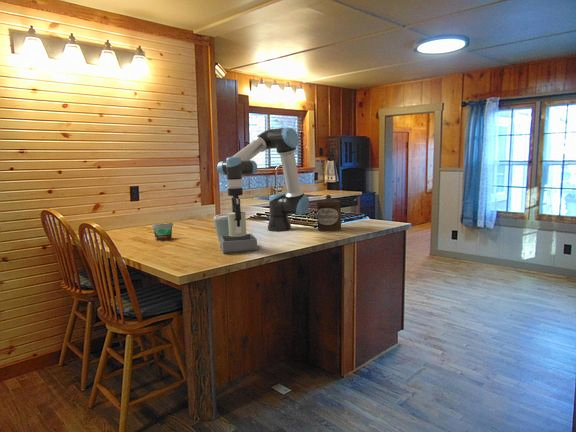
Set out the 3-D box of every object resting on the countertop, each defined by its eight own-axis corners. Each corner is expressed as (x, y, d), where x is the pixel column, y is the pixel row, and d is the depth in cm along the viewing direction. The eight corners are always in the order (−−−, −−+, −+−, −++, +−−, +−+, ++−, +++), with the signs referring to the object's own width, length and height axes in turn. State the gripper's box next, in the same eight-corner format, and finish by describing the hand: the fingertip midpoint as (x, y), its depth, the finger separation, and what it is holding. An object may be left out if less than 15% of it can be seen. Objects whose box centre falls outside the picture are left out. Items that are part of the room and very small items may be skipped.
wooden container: (315, 231, 255) (314, 196, 252) (320, 227, 269) (319, 193, 266) (339, 231, 251) (338, 196, 248) (343, 227, 265) (342, 193, 262)
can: (229, 237, 207) (227, 213, 206) (228, 234, 216) (226, 211, 215) (247, 236, 209) (246, 212, 207) (245, 232, 218) (244, 210, 216)
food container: (153, 241, 242) (152, 225, 240) (152, 240, 247) (151, 223, 246) (175, 239, 246) (174, 223, 245) (174, 237, 252) (172, 221, 250)
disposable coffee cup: (229, 242, 231) (228, 216, 229) (211, 242, 233) (210, 216, 231) (235, 238, 241) (234, 213, 239) (218, 238, 244) (216, 213, 242)
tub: (252, 244, 224) (251, 233, 223) (257, 250, 207) (256, 239, 207) (220, 247, 220) (219, 236, 219) (223, 254, 203) (222, 242, 203)
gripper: (225, 186, 219) (228, 228, 222) (230, 189, 198) (232, 235, 201) (239, 186, 220) (241, 227, 224) (245, 188, 200) (247, 234, 203)
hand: (237, 231), depth 212 cm, fingers closed on can, 9 cm apart
